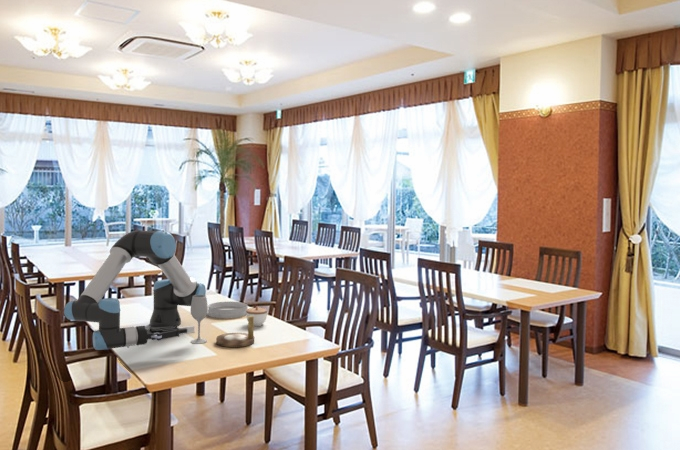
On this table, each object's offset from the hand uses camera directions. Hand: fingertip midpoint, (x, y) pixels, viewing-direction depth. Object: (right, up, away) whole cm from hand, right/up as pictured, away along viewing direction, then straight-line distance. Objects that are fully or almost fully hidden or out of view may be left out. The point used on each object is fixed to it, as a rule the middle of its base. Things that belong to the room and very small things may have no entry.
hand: (193, 329), depth 225 cm
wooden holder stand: (+14, -9, +17) cm, 24 cm away
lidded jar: (+19, -8, +51) cm, 55 cm away
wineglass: (-2, -9, +17) cm, 20 cm away
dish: (-1, -6, +74) cm, 74 cm away
